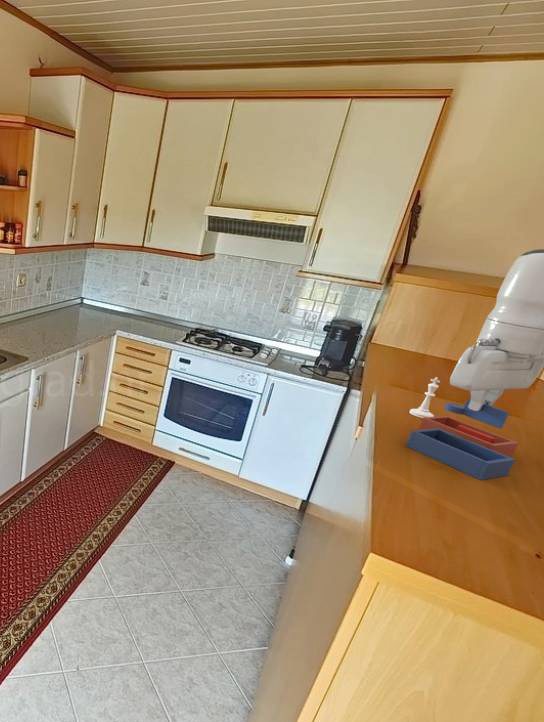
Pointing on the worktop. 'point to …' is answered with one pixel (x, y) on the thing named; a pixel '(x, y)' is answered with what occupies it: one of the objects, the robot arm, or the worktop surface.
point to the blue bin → (460, 453)
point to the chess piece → (426, 401)
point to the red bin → (450, 426)
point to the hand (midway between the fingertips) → (478, 409)
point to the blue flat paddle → (480, 413)
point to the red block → (475, 434)
